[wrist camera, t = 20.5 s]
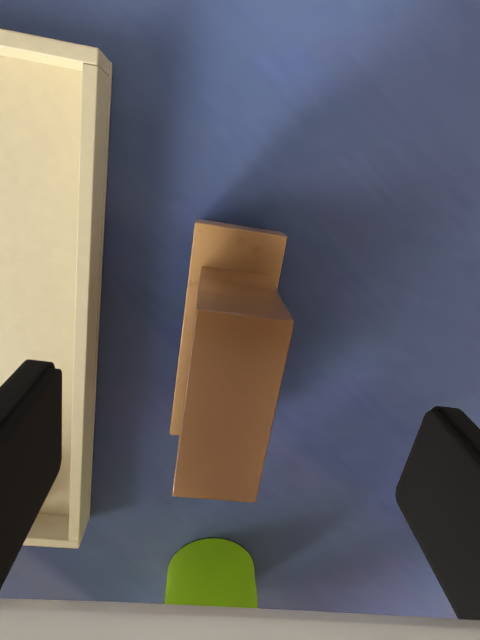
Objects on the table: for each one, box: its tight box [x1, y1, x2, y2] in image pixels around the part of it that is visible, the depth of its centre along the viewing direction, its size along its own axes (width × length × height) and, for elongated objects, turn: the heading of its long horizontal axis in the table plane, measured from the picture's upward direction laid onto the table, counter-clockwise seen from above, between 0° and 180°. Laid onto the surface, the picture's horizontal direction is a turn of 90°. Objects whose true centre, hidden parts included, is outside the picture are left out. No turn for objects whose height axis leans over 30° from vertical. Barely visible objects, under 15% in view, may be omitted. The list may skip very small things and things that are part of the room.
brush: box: [170, 219, 294, 503], centre depth 17 cm, size 4×11×9 cm, turn 171°
